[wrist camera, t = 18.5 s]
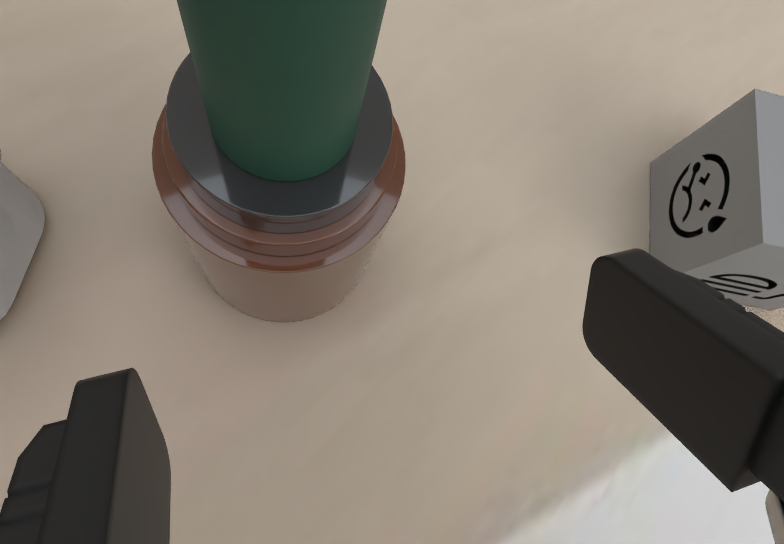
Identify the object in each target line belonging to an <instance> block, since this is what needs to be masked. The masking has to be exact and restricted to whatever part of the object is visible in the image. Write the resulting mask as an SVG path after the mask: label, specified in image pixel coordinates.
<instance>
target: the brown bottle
mask: <svg viewBox="0 0 784 544" xmlns="http://www.w3.org/2000/svg"><path fill="white" fill-rule="evenodd" d="M152 162H153V172H154V176H155V181H156V185H157V188H158V191H159V193H160V196H161V199H162V201H163V202H164V204H165V206H166V208H167V210H168V211H169V213H170V215H171V217H172V219H173V220H174V222H175V224H176V226H177V227H178V229H179V231H180V233H181V235H182V236H183V238H184V240H185V242H186V243H187V245H188V247H189V249H190V250H191V252H192V254H193V256H194V258H195V259H196V261H197V263H198V265H199V266H200V268H201V270H202V272H203V273H204V275H205V277H206V279H207V281H208V282H209V284H210V285H211V286H212V288H213V289H214V290H215V292H216V293H217V294H218V295H219V296H220V297H221V298H222V299H223V300H224V301H225V302H227V303H228V304H229V305H231V306H232V307H233V308H235V309H237V310H239V311H240V312H242V313H244V314H247V315H249V316H251V317H254V318H258V319H261V320H265V321H272V322H295V321H302V320H306V319H310V318H313V317H315V316H318V315H320V314H323V313H325V312H326V311H328V310H330V309H332V308H333V307H335V306H336V305H337V304H339V303H340V302H341V301H342V300H343V299H344V298H345V297H346V296H347V295H348V294H349V293H350V292H351V291H352V290H353V288H354V287H355V286H356V284H357V282H358V281H359V279H360V277H361V275H362V273H363V271H364V270H365V268H366V266H367V264H368V262H369V260H370V258H371V256H372V254H373V252H374V250H375V248H376V246H377V244H378V242H379V240H380V238H381V236H382V234H383V232H384V230H385V228H386V226H387V224H388V222H389V220H390V218H391V216H392V214H393V212H394V210H395V208H396V206H397V203H398V201H399V198H400V196H401V192H402V188H403V184H404V177H405V151H404V145H403V140H402V137H401V133H400V130H399V127H398V125H397V123H396V120H395V118H394V116H393V114H392V109H391V104H390V100H389V97H388V94H387V91H386V89H385V87H384V85H383V82H382V80H381V78H380V77H379V75H378V74H377V72H376V71H375V69H374V68H373V66H372V65H371V70H370V74H369V78H368V82H367V86H366V91H365V95H364V99H363V103H362V108H361V112H360V116H359V120H358V125H357V129H356V133H355V136H354V140H353V142H352V144H351V146H350V148H349V150H348V151H347V153H346V154H345V156H344V157H343V158H342V159H341V160H340V161H339V162H338V163H337V164H336V165H334V166H333V167H332V168H330V169H329V170H327V171H326V172H324V173H322V174H320V175H318V176H315V177H312V178H309V179H305V180H300V181H289V182H286V181H274V180H268V179H265V178H261V177H258V176H256V175H253V174H251V173H249V172H247V171H245V170H243V169H242V168H240V167H239V166H237V165H236V164H235V163H233V162H232V161H231V160H230V159H229V158H228V157H227V156H226V155H225V154H224V153H223V151H222V150H221V149H220V148H219V146H218V144H217V143H216V141H215V139H214V137H213V134H212V132H211V129H210V125H209V121H208V117H207V114H206V110H205V106H204V102H203V98H202V94H201V91H200V87H199V83H198V79H197V75H196V72H195V68H194V64H193V60H192V56H191V52H190V53H189V54H188V56H187V57H186V58H185V59H184V60H183V62H182V63H181V65H180V66H179V68H178V70H177V71H176V73H175V75H174V78H173V80H172V82H171V85H170V88H169V92H168V96H167V103H166V105H165V107H164V108H163V111H162V113H161V115H160V118H159V120H158V122H157V126H156V130H155V134H154V138H153V148H152Z"/></svg>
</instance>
